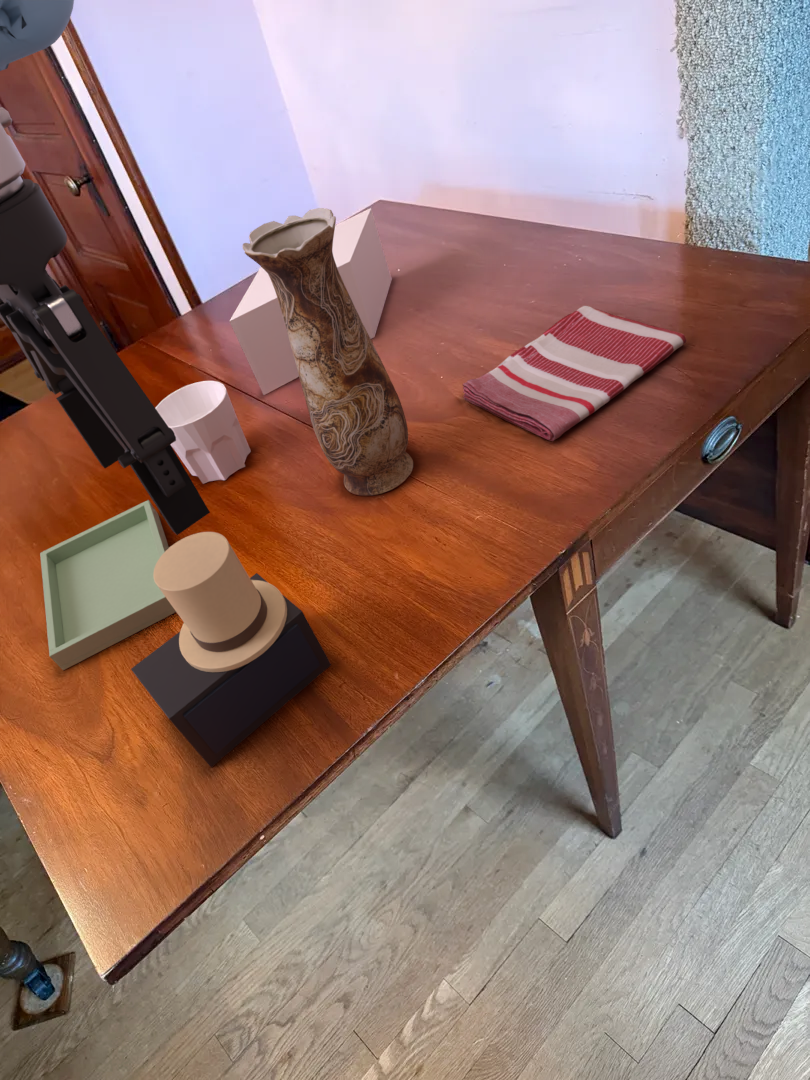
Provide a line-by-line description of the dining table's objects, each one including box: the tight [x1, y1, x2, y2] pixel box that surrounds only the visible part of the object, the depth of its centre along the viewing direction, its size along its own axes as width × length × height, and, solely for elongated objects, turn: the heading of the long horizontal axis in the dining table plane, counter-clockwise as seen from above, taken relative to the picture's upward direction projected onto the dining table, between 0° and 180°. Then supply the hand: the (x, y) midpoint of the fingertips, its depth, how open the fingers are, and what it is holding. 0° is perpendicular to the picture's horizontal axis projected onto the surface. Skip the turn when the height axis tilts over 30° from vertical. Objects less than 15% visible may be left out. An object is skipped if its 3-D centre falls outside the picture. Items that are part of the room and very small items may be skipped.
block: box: [228, 207, 393, 396], centre depth 117 cm, size 18×35×12 cm, turn 145°
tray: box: [39, 499, 177, 671], centre depth 88 cm, size 20×15×3 cm
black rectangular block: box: [130, 572, 332, 768], centre depth 68 cm, size 14×8×8 cm, turn 130°
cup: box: [155, 380, 252, 485], centre depth 98 cm, size 10×10×10 cm
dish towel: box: [462, 305, 687, 442], centre depth 94 cm, size 17×23×3 cm
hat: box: [153, 531, 287, 672], centre depth 64 cm, size 10×10×9 cm
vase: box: [241, 207, 414, 496], centre depth 81 cm, size 10×11×30 cm
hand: (151, 487), depth 56 cm, fingers open, 13 cm apart
